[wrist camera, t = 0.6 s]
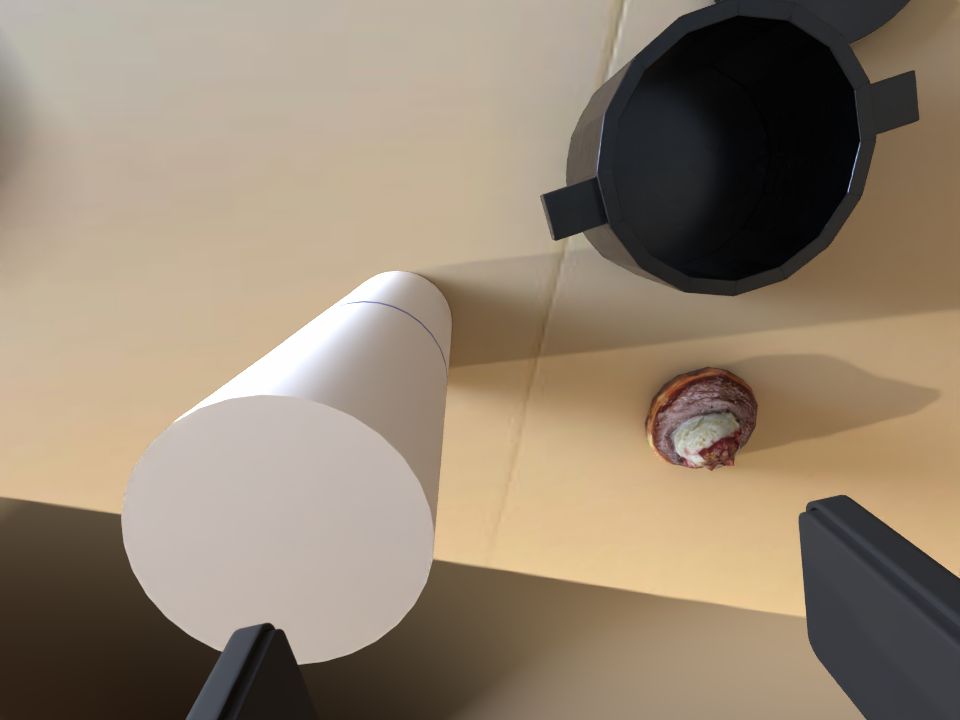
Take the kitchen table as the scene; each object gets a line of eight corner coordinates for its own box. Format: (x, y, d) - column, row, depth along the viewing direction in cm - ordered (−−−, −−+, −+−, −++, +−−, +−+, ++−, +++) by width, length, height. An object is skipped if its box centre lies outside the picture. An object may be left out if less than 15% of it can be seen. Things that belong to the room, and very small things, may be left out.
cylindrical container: (459, 280, 36) (456, 420, 12) (443, 381, 38) (412, 679, 14) (352, 262, 35) (120, 371, 11) (341, 365, 37) (121, 647, 13)
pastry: (660, 477, 40) (688, 513, 36) (625, 391, 38) (649, 418, 34) (762, 434, 40) (803, 465, 35) (731, 345, 38) (770, 365, 33)
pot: (499, 108, 33) (511, 74, 25) (800, 3, 32) (916, -68, 24) (558, 314, 37) (586, 344, 29) (831, 226, 36) (941, 230, 28)
